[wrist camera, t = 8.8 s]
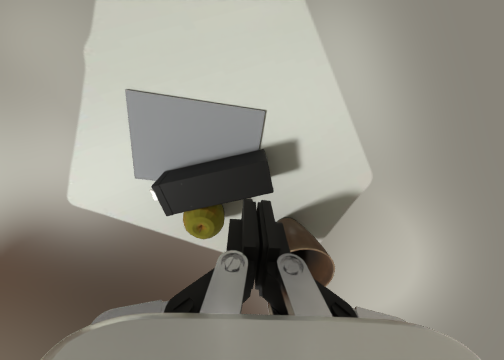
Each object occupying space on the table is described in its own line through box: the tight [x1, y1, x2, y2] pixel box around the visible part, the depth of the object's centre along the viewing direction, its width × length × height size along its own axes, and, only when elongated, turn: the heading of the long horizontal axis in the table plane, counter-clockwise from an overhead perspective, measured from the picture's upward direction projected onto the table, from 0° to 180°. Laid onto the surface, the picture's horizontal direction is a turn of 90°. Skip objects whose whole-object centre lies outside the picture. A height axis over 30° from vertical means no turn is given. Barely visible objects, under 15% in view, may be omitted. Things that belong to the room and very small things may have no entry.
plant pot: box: [277, 218, 335, 287], centre depth 50 cm, size 15×15×16 cm
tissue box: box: [150, 149, 274, 216], centre depth 46 cm, size 8×8×28 cm
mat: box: [125, 90, 265, 181], centre depth 46 cm, size 20×29×1 cm
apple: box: [183, 204, 224, 239], centre depth 48 cm, size 10×10×11 cm
